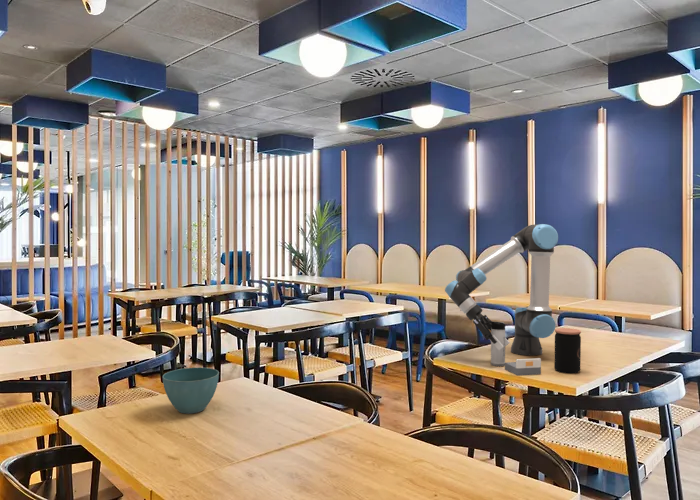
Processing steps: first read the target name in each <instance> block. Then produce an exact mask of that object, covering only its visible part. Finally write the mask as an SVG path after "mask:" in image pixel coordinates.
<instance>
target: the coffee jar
mask: <svg viewBox="0 0 700 500" xmlns="http://www.w3.org/2000/svg"><path fill="white" fill-rule="evenodd" d="M554 333H555V334H554V362H553V363H554V366H553V367H554V369H555V371H556V372H557V373H558V372H559V373H561V374H569V375H571V374H572V375H574V374H575V375H576V374H578V373H580V371H581V353H582V351H581V350H582V349H581V348H582V347H581V345H582V337H581V333H582V331H581V330H580V329H577V328H568V327H566V328H565V327H561V328H560V327H559V328H555V330H554Z"/></svg>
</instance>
